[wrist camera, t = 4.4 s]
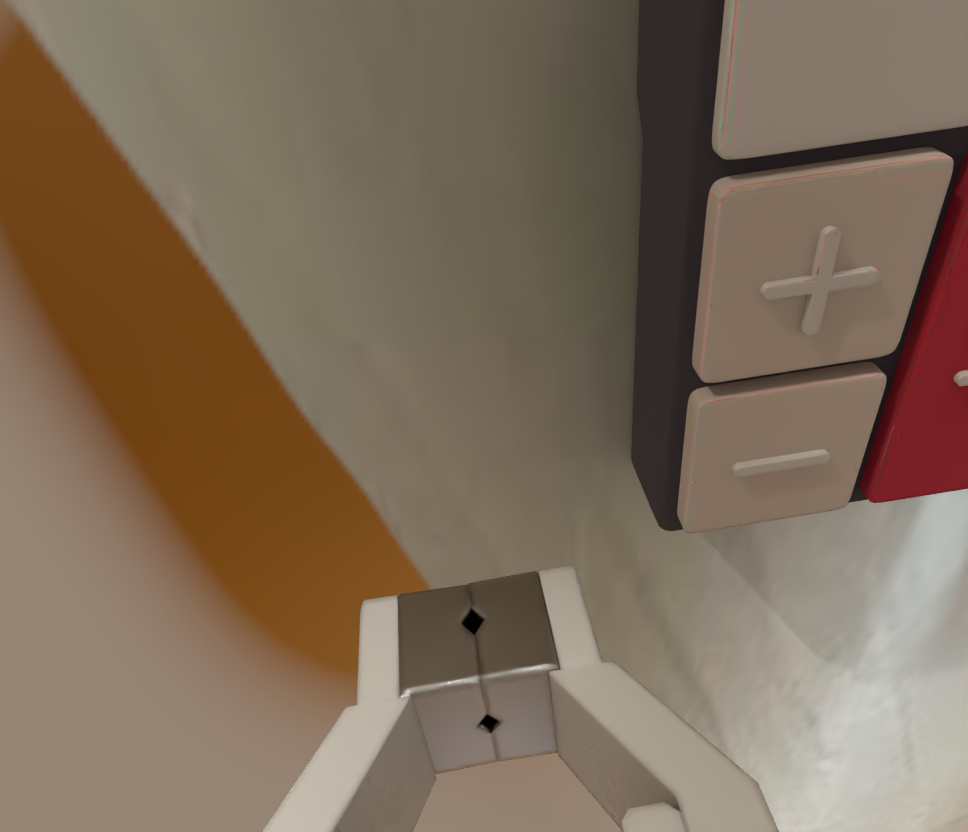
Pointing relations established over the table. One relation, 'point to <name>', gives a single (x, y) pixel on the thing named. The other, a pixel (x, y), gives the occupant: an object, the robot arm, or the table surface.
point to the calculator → (800, 256)
